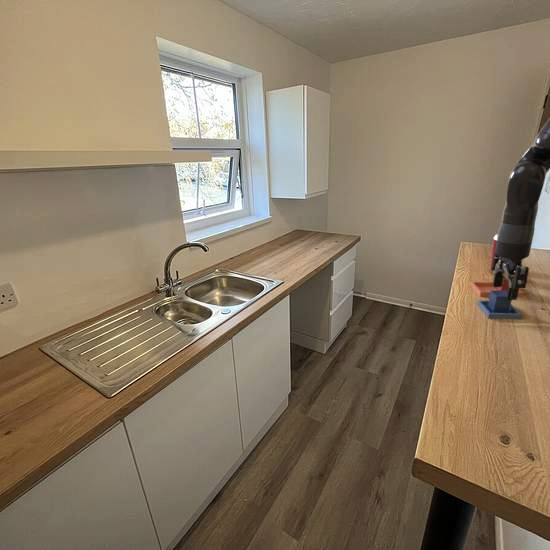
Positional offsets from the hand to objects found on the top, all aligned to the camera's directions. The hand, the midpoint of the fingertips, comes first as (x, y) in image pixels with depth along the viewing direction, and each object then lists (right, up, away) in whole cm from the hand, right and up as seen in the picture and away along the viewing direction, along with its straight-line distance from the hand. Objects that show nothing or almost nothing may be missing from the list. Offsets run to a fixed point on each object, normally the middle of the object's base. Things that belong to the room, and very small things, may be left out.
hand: (503, 292), depth 87 cm
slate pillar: (0, -6, +3) cm, 6 cm away
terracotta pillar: (+10, 0, +13) cm, 17 cm away
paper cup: (+20, +7, +29) cm, 36 cm away
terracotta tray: (+8, -1, +14) cm, 16 cm away
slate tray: (0, -6, +3) cm, 7 cm away
